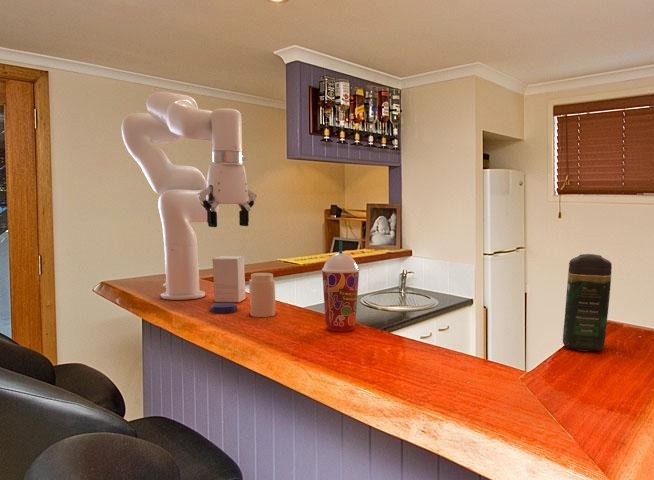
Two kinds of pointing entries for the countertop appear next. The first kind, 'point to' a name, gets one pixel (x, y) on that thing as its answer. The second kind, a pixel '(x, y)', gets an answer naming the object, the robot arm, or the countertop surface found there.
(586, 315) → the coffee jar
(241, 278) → the white packaging box
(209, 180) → the robot arm
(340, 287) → the smoothie
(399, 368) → the countertop surface
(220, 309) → the jar lid
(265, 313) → the jar
